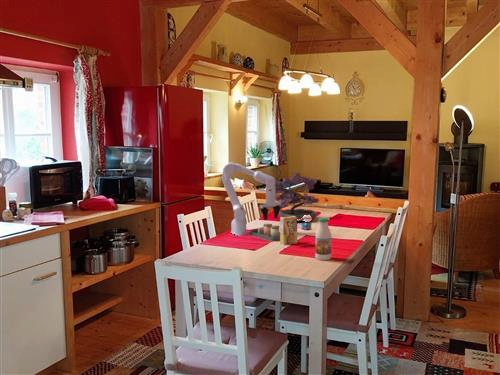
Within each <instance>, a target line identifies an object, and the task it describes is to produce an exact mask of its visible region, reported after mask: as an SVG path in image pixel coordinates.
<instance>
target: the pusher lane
mask: <svg viewBox="0 0 500 375" xmlns="http://www.w3.org/2000/svg"><path fill="white" fill-rule="evenodd" d="M258 228H259V227H257V228H253V229H249V230H250V233H249V236H251V237H255V238H258V239H261V240H264V241H268V242H277V241H280V233H279V234H277V235H272V237H269V236H266V235H262V234H258Z"/></svg>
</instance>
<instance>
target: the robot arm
mask: <svg viewBox="0 0 500 375" xmlns="http://www.w3.org/2000/svg"><path fill="white" fill-rule="evenodd" d="M239 172H240V173H243V174H246V175H248V176H251V177H253V180H255V181H257V182H259V183H261V184H263V185H264V184H265V203H264V204H260V205H259V208H260V211H261V213H262V216H263V220H264V221H267V220H268V214H269V209H268V208H272V209H273V218H274V219H278V216H279V211H281V209H282V207H280V206H281V203H278V202H276V201H275V197H276V194H275V188H276V187H275V179H276V178H275V177H273V175H270V174H266V173H264V172H263V171H262V170H256V171H254V170H252V169H250V168H248V167H247V166H244V165H242V164H241V163H240V164H239V163H235V162H234V161H229V162H228V163H225V165H224V167H223V168H222V174H221V181H222V183H223V186H224V189H225V191H226V194H227V195H228V198H229V200H230V204H231V205H232V210H233V213H234V214H233V216H234V218H233V219H232V221H231V222H230V223H231V224H230V225H231V227H230V228H231V231H230V234H231V233H232V234H231V235H234V234H235V236H237V235H238V236H244V235H250V233H248V232H247V218H246V215H247V210H246V209H245V208H244V207H243V205H242V204H241V202H240V199H239V198H238V195H237V193H236V190H235V186H234V185H233V183H232V180H231V178H232V175H233V174H234V173H239ZM238 236H237V237H238Z"/></svg>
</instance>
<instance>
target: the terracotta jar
mask: <svg viewBox="0 0 500 375" xmlns="http://www.w3.org/2000/svg"><path fill="white" fill-rule="evenodd" d="M271 226H273V223H263V227H264V235H266V236H269V237H271Z"/></svg>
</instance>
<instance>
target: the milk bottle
mask: <svg viewBox="0 0 500 375" xmlns="http://www.w3.org/2000/svg"><path fill="white" fill-rule="evenodd" d="M314 249H315V252H314V253H315V254H314V257H315V259H316V260H318V261H329V260H331V259H332V232H331V230H330V227H329V218H327V217H319V218H318V226H317V229H316V232H315V248H314Z"/></svg>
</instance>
